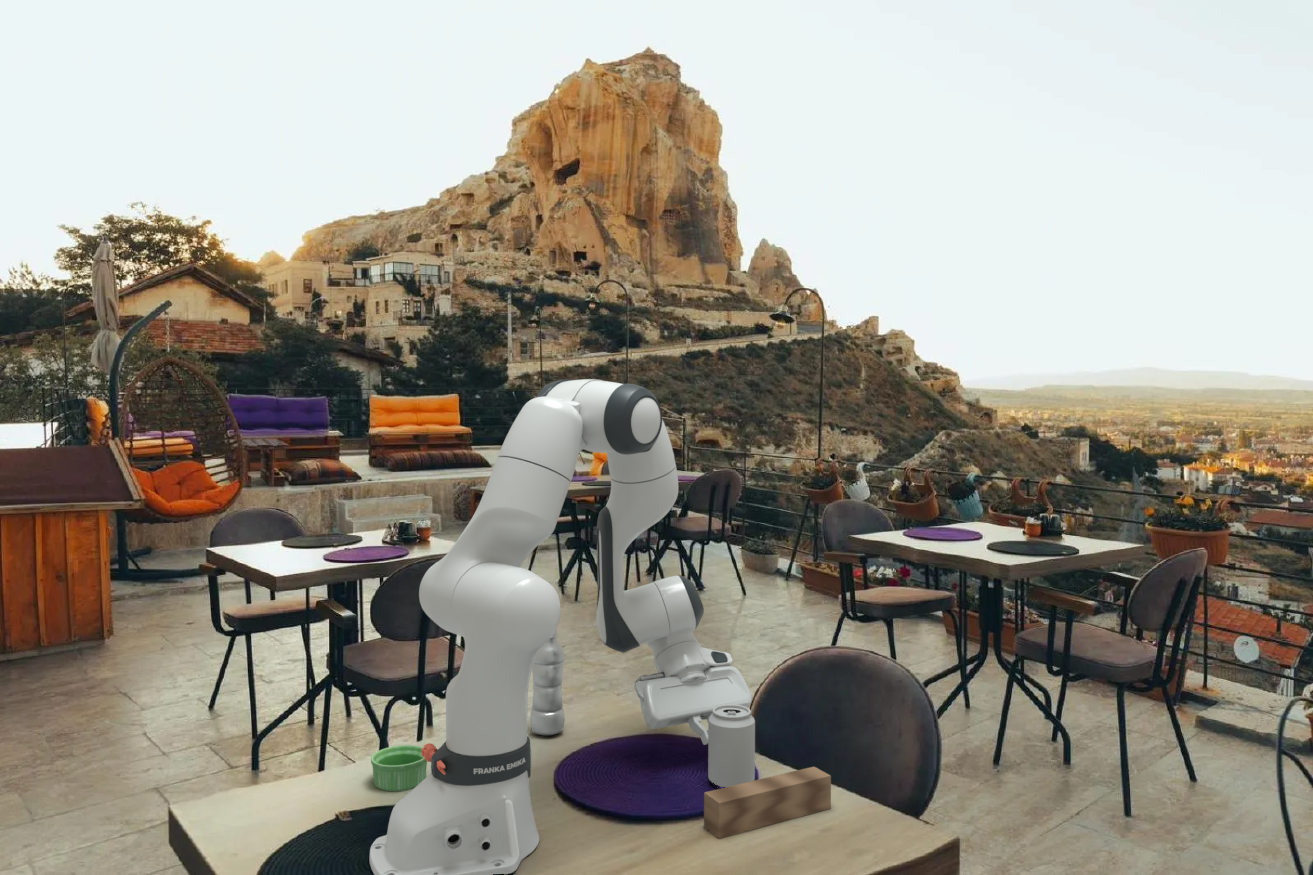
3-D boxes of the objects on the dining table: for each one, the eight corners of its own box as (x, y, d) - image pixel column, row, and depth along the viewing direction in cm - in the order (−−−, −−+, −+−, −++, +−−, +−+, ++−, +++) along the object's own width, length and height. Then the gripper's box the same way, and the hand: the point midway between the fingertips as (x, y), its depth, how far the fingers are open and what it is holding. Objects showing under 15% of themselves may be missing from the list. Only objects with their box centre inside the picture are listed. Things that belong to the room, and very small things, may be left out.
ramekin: (358, 789, 138) (358, 761, 138) (393, 768, 146) (393, 742, 146) (407, 797, 135) (407, 769, 135) (439, 775, 143) (439, 748, 143)
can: (754, 774, 144) (754, 702, 143) (755, 793, 136) (755, 717, 136) (709, 772, 144) (709, 701, 144) (707, 791, 137) (707, 716, 137)
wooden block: (719, 838, 121) (719, 803, 121) (703, 827, 125) (704, 792, 125) (830, 808, 131) (830, 775, 131) (813, 798, 134) (814, 766, 134)
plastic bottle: (552, 724, 167) (552, 621, 167) (571, 734, 162) (571, 627, 162) (523, 732, 163) (523, 626, 163) (542, 742, 158) (542, 633, 157)
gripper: (637, 667, 147) (665, 743, 138) (737, 652, 156) (769, 722, 148) (625, 686, 151) (652, 762, 142) (724, 670, 160) (754, 740, 152)
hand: (713, 741), depth 145 cm, fingers closed
